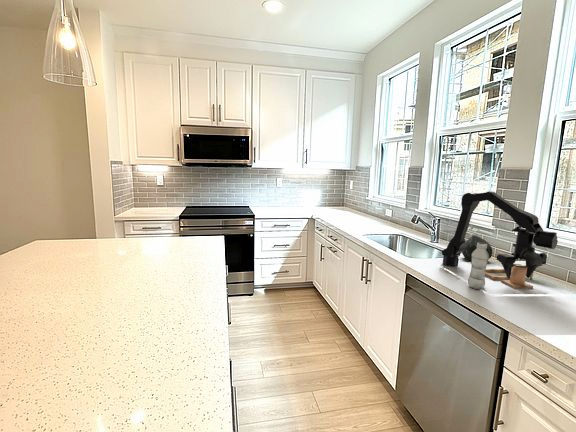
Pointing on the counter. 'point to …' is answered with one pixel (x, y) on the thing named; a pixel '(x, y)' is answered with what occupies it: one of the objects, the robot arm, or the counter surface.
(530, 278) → the propped lid
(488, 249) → the squash
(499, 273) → the wooden tray
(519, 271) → the pot
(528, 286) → the stand
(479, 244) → the plastic bottle
